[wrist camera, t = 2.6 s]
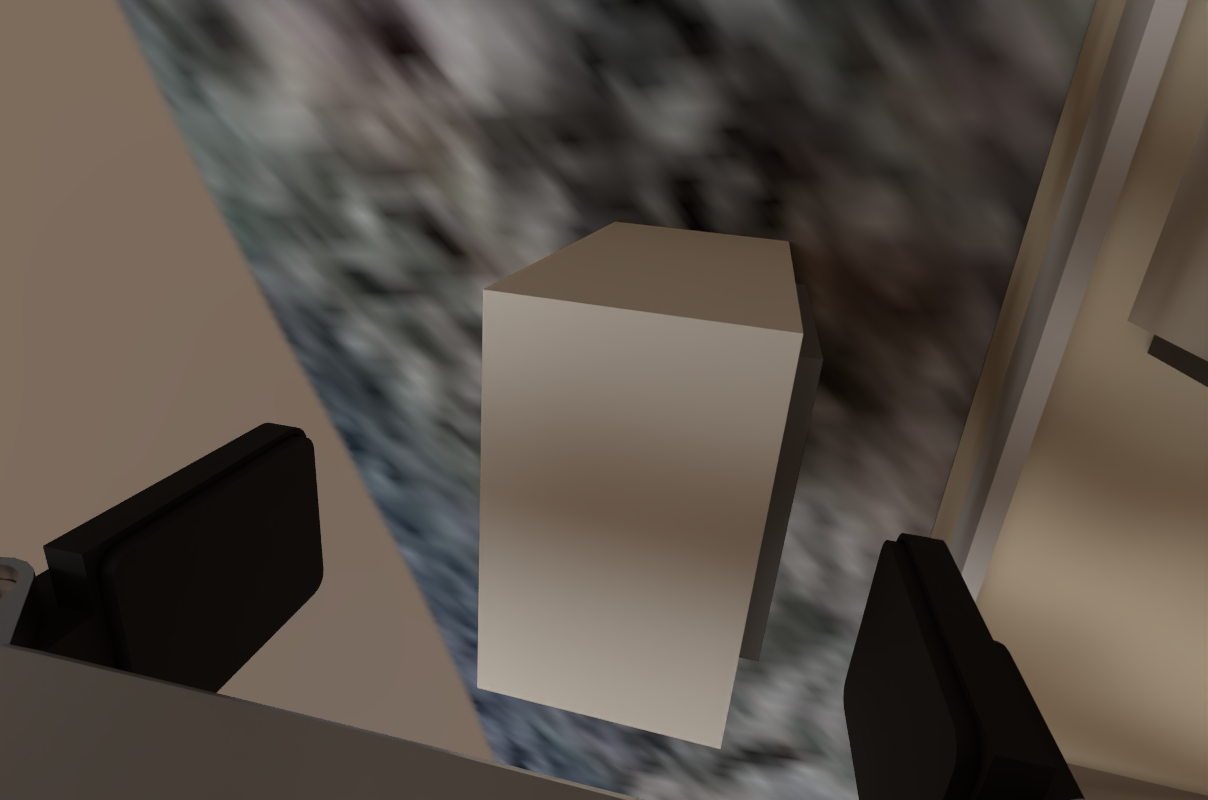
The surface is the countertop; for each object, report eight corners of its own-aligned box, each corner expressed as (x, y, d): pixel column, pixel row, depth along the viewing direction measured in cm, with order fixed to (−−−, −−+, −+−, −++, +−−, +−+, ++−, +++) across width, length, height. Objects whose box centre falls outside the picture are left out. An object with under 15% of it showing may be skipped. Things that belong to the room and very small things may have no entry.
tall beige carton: (809, 243, 17) (843, 338, 9) (759, 501, 20) (749, 756, 12) (615, 221, 18) (483, 290, 10) (594, 471, 21) (477, 687, 13)
